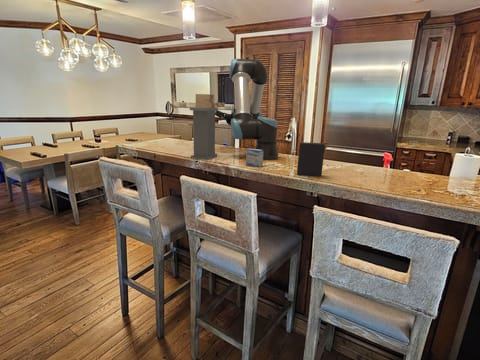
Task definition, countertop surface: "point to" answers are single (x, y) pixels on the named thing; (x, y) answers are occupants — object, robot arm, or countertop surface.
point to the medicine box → (254, 157)
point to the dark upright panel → (310, 159)
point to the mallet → (207, 101)
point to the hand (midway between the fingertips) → (221, 106)
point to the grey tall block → (204, 132)
